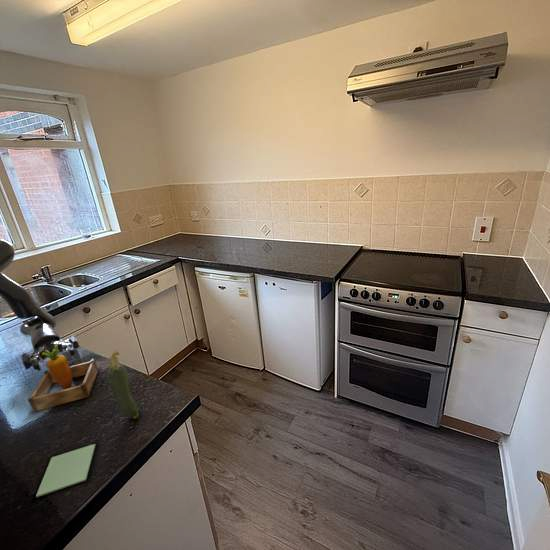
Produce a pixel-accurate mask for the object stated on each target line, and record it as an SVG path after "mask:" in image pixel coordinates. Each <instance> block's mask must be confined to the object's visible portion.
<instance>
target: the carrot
mask: <svg viewBox="0 0 550 550" xmlns="http://www.w3.org/2000/svg"><path fill="white" fill-rule="evenodd" d="M45 352H47V353H48V354H47V353H42V355H44V356H46V357H48V358H47V359H48V360H47V362H45V365H46V368H47V371H48V370H49V372H50V373H51V375H52V377H53V378H54V379H55V381H56V384H58V385H59V386H61V387H62V388H63V389H68V388H72V384H73V378H72V374H71V369H70V366H71V365H70V363H69V361H68V358H67V357H66V356H65V355H63V354H59V353H58V352H59V350H58V345H54V349H53V350H52V352H51V353H50V352H49V351H48V350H46V351H45ZM51 354H52V355H51Z"/></svg>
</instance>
